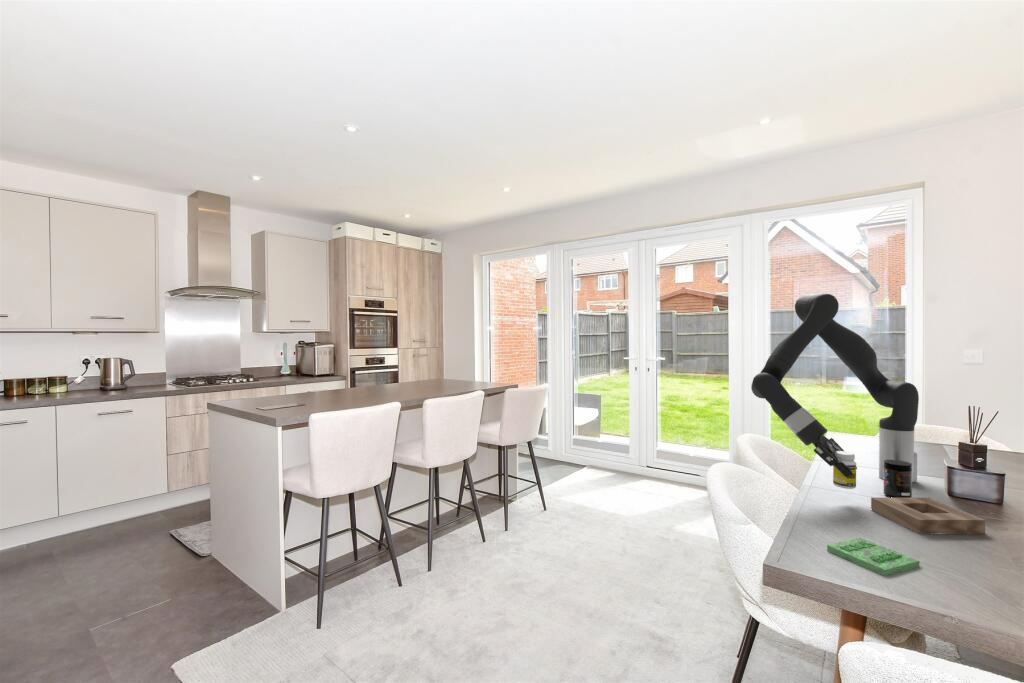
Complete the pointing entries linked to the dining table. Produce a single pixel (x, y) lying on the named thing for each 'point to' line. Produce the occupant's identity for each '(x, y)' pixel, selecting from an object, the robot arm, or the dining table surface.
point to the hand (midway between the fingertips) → (851, 472)
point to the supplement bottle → (838, 477)
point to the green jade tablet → (873, 556)
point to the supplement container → (897, 479)
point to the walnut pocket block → (928, 516)
